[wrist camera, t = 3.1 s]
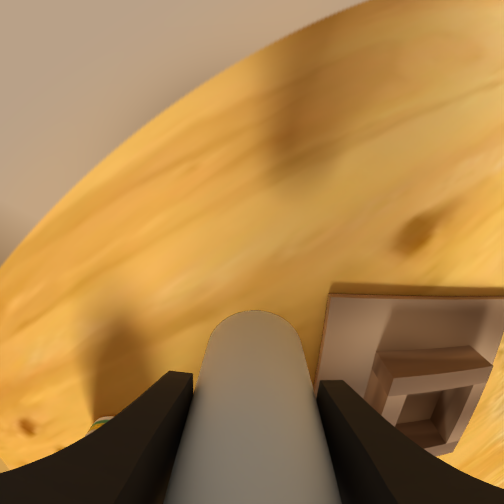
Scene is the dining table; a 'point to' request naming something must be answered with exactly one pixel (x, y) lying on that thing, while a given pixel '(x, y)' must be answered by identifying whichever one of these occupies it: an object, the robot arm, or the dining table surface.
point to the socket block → (414, 358)
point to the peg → (253, 422)
